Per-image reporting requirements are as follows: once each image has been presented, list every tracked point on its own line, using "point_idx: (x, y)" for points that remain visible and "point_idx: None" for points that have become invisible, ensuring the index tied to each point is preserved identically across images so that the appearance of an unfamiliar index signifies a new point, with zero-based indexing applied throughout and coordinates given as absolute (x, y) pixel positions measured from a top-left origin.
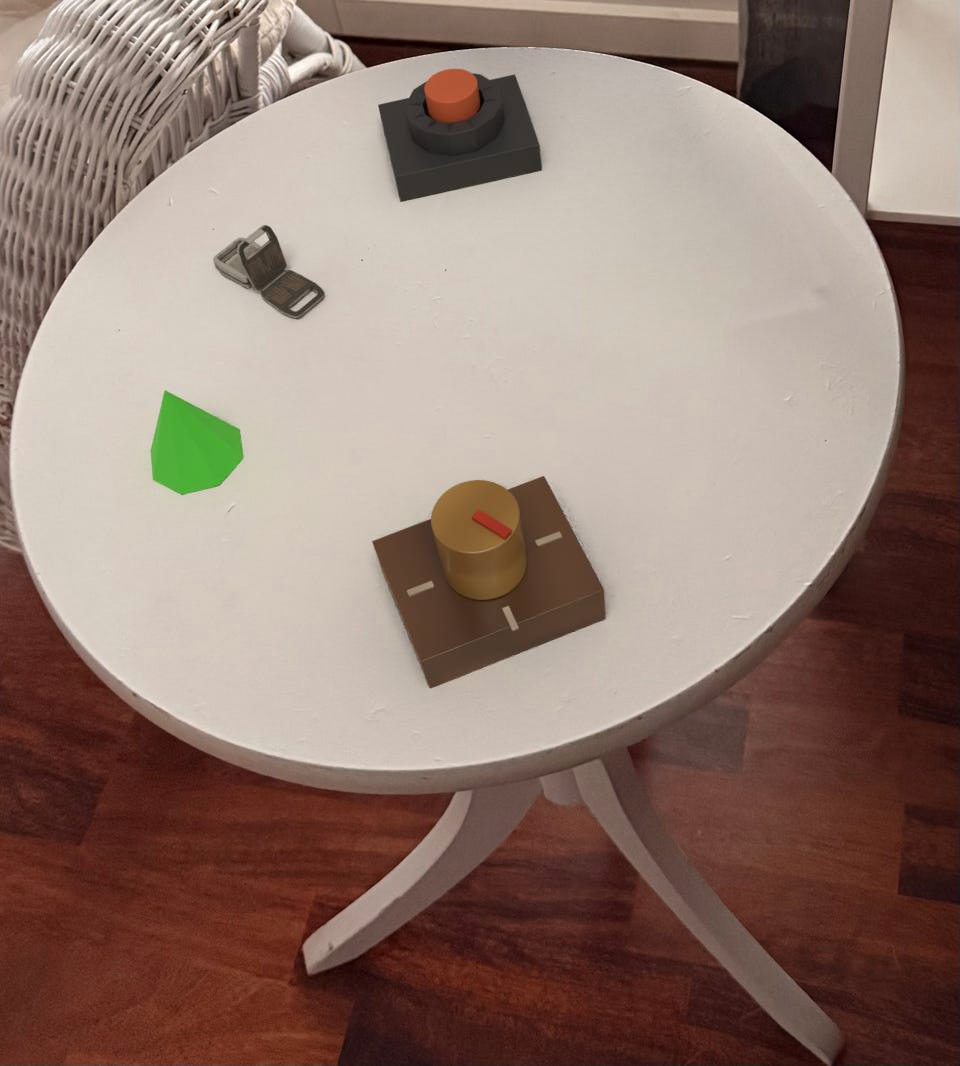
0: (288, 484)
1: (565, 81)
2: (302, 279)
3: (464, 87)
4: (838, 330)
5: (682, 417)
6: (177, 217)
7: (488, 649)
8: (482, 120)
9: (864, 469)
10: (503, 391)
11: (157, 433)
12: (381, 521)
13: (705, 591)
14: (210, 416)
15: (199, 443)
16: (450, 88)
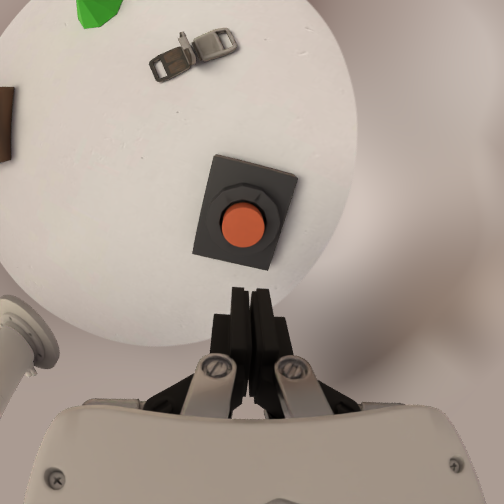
0: (61, 48)
1: None
2: (175, 71)
3: (234, 235)
4: (55, 300)
5: (29, 228)
6: (291, 26)
7: None
8: (211, 232)
9: (8, 271)
10: (57, 159)
11: None
12: (28, 88)
13: None
14: (88, 12)
15: (77, 9)
16: (239, 226)
